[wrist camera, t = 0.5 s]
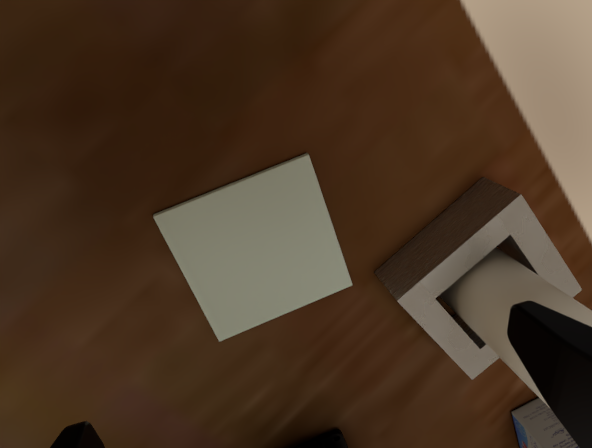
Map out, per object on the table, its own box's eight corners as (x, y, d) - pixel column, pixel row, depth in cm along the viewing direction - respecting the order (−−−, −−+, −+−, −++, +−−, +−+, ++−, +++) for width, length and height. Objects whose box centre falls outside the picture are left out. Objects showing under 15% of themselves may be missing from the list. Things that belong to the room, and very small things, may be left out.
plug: (499, 283, 31) (687, 429, 19) (436, 310, 31) (588, 475, 19) (489, 223, 29) (694, 346, 17) (422, 252, 29) (583, 397, 17)
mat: (350, 282, 28) (352, 285, 28) (218, 337, 28) (219, 341, 27) (307, 153, 24) (308, 154, 24) (153, 214, 24) (152, 216, 24)
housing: (444, 346, 32) (472, 379, 29) (374, 272, 28) (396, 300, 25) (542, 264, 31) (582, 289, 28) (483, 177, 27) (521, 194, 24)
